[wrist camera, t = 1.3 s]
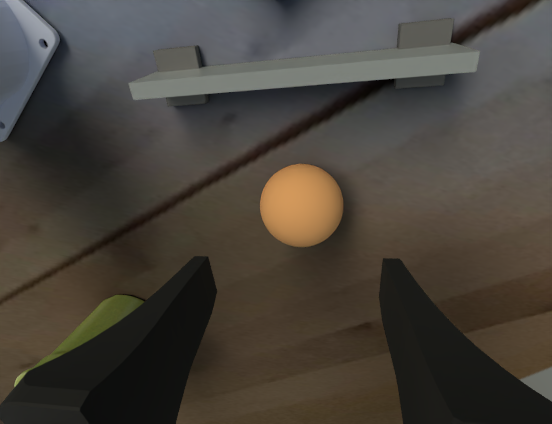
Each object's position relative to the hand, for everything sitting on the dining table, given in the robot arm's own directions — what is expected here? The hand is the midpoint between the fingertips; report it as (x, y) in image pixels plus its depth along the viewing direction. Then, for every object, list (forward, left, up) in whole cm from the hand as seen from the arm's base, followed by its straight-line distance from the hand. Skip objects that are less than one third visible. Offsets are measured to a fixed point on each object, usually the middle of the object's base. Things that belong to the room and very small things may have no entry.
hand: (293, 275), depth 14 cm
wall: (+4, +5, -9) cm, 12 cm away
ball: (-1, 0, -7) cm, 7 cm away
